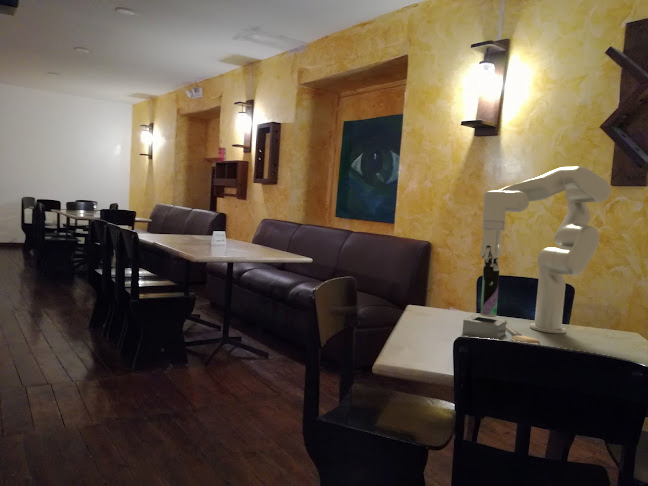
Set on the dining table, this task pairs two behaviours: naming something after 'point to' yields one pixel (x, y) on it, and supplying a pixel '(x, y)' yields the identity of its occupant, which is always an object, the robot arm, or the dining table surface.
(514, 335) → the adjustable wrench
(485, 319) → the block
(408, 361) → the dining table surface
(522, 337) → the coaster
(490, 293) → the spray can
